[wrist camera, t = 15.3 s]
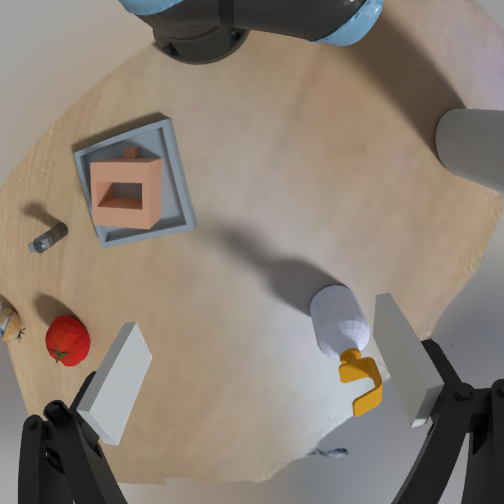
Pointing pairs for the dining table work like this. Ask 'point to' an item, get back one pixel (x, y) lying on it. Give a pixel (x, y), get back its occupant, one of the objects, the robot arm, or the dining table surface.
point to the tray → (173, 183)
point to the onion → (9, 325)
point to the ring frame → (126, 209)
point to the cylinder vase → (473, 145)
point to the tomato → (67, 341)
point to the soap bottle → (346, 340)
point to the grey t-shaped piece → (48, 238)
